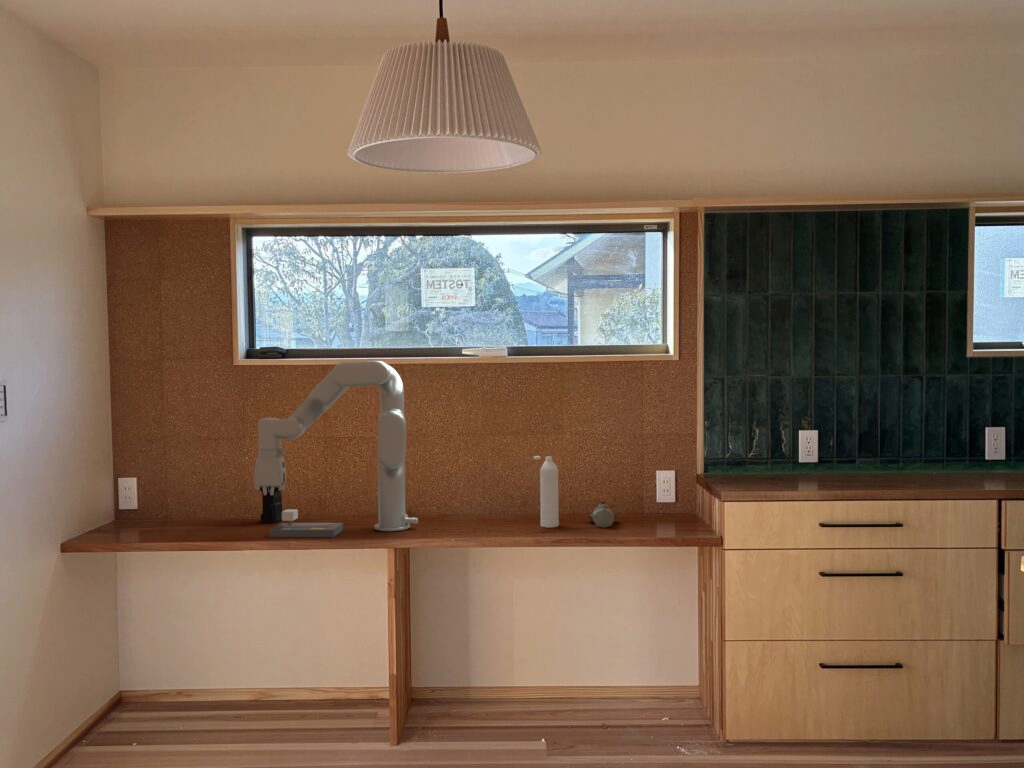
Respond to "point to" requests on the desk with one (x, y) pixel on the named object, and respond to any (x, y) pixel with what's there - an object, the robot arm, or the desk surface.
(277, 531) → the fader console
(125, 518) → the desk surface
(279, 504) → the portable radio
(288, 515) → the fader knob
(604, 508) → the ceramic sculpture
